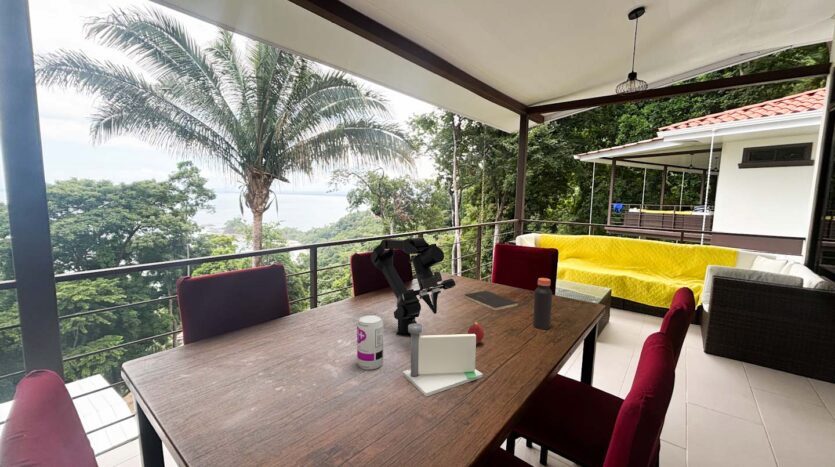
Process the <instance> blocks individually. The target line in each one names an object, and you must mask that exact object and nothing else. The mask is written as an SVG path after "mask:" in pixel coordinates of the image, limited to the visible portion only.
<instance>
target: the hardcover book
mask: <svg viewBox="0 0 835 467" xmlns="http://www.w3.org/2000/svg"><path fill="white" fill-rule="evenodd" d="M463 295H464V299H466V300H469V301H472V302H474V303H475V304H479V305H480V306H483V307H485V308H488V309H490V310H492V311H500V310H503V309H509V308H513V307H517V306H518V307H519V306H520V303H519V301H516V300H513V299H510V298H507V297H505V296H504V295H503V296H502V295H500V294H496V293H494V292H491V291H489V290H482V291H476V292H472V293H466V294H465V293H464V294H463Z"/></svg>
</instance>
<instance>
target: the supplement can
mask: <svg viewBox="0 0 835 467" xmlns="http://www.w3.org/2000/svg"><path fill="white" fill-rule="evenodd" d="M356 346H357V347H356V353H357V355H356V358H357V360H356V361H357V362H356V363H357V365H358V367H359V368H361V369H362V370H366V371H367V370H368V371H371V370H376V369H378V368H380V367H381V366H382V365H383V364H384V321H383V319H382V317H381V316H379V315H375V314H368V315H362V316H360V317H359V318H358V321H357V323H356Z"/></svg>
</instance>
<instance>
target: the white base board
mask: <svg viewBox="0 0 835 467" xmlns="http://www.w3.org/2000/svg"><path fill="white" fill-rule="evenodd" d="M402 375H403V376H404V377H405V378H406V379H407V380H408V381H409V382H410V383H411V384H412V385H413V386H414V387H415V388H416V389H417V390H419V392H420V393H421V394H422V395H423V396H424V397H430V396H432V395H433V396H434V395H435V394H438V393H441V392H444V391H446V390H450V389H453V388H455V387H458V386H461V385H465V384H467V383H470V382H472V381H476V380H478V379H481V378H483V377H484V376H483V375H484V374H483V373H482V372H481V371H479V370H477V369H476V368H475V371H471V372H447V373H424V374H419V375H418V376H417V377H412V376H411V368H409V369H406V370H403V371H402Z"/></svg>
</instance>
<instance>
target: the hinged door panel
mask: <svg viewBox="0 0 835 467" xmlns="http://www.w3.org/2000/svg"><path fill="white" fill-rule="evenodd" d="M408 332H409V333H411V337H410V369H411V376H412V377H417V376H418V375H419V374H424V373H447V372H471V371H475V369H476V356H477V355H476V350H477V349H476V348H477V347H476V346H477V344H476V335H475V334H468V333H464V334H463V333H462V334H459V333H458V334H434V335H433V334H431V335H429V334H428V335H424V334H423V335H420V334H421V333H422V332H423V325H422V324H420V323H418V322H417V323H413V324H409V325H408Z"/></svg>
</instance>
